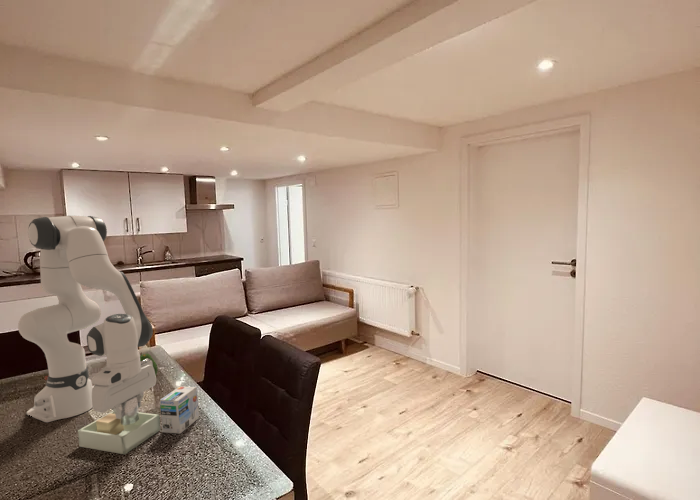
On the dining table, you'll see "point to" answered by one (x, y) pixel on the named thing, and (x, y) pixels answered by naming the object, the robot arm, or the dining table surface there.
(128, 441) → the tote
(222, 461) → the dining table surface
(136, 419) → the cylinder
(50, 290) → the robot arm
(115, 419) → the cube
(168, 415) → the light bulb box
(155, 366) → the avocado
